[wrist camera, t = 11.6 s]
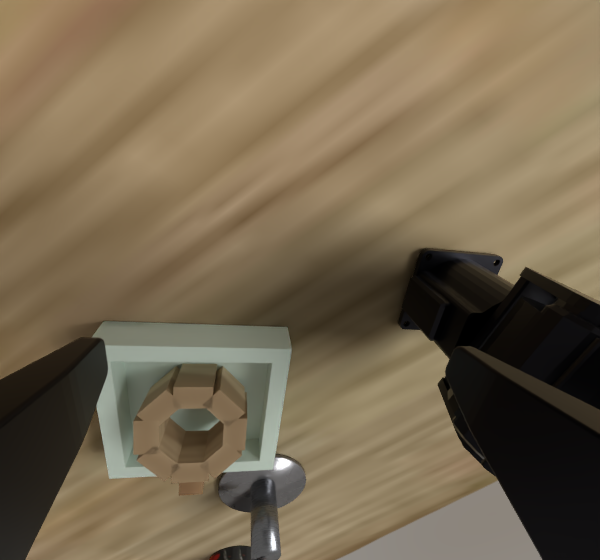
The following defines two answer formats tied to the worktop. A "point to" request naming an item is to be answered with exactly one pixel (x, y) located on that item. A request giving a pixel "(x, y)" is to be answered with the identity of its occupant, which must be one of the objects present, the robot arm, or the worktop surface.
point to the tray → (174, 352)
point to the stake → (264, 500)
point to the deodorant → (233, 553)
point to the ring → (191, 444)
